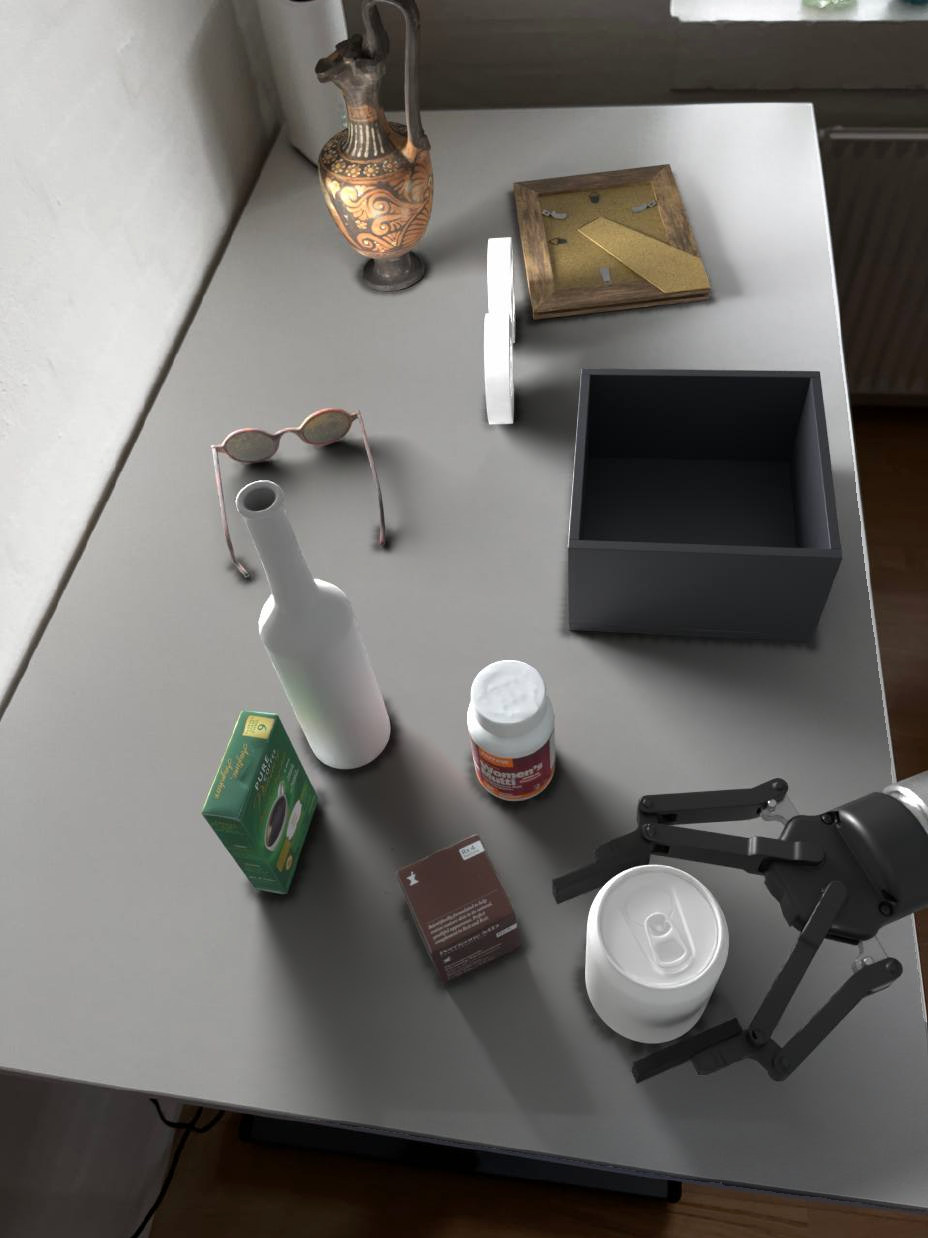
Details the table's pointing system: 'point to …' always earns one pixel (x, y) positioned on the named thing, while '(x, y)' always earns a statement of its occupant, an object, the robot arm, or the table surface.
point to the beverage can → (654, 952)
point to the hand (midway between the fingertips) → (592, 978)
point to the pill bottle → (512, 730)
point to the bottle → (314, 642)
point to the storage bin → (702, 504)
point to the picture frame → (607, 242)
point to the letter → (500, 332)
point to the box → (460, 908)
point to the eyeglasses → (263, 445)
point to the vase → (378, 154)
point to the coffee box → (261, 801)
